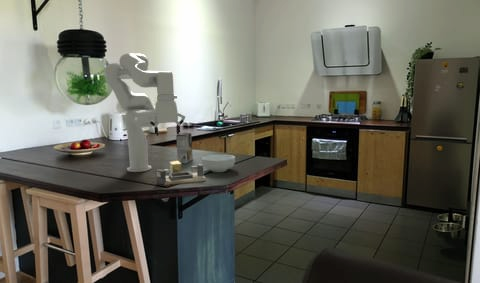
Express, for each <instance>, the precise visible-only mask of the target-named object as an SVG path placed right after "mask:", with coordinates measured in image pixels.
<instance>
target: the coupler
mask: <svg viewBox="0 0 480 283" xmlns="http://www.w3.org/2000/svg"><path fill="white" fill-rule="evenodd" d="M169 169H170V174H171V173H180V172H183V171H182V163H180V162H179V161H178V160H173V161H169Z"/></svg>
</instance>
